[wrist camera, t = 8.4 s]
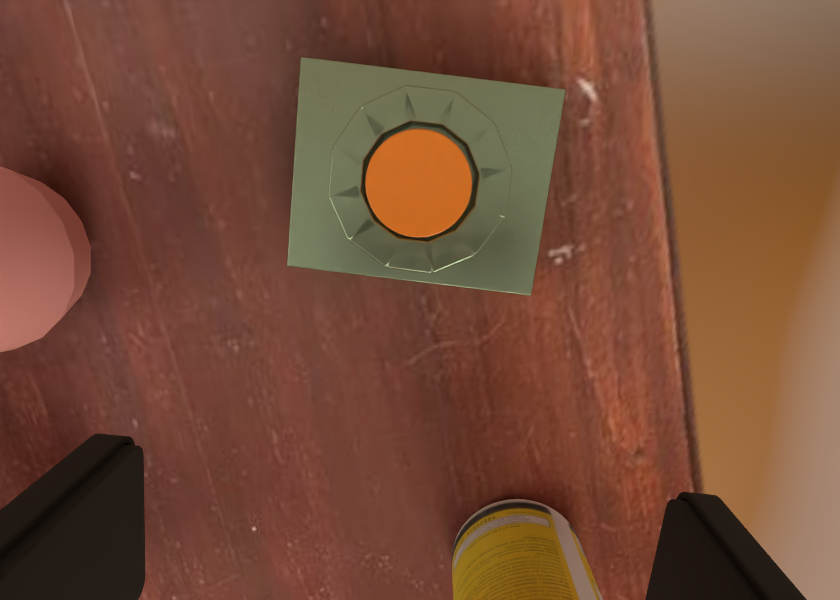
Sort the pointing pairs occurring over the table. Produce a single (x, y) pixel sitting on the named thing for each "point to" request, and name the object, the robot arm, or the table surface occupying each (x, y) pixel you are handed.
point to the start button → (418, 183)
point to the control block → (444, 113)
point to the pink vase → (37, 259)
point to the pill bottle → (520, 556)
